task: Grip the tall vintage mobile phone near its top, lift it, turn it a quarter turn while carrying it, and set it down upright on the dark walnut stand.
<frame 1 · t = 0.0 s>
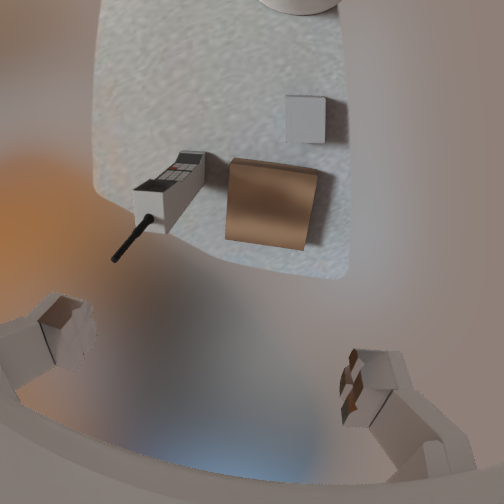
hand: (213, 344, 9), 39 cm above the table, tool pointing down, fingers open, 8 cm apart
grey plastic box: (304, 116, 41), on the table
walnut stand: (270, 200, 48), on the table
vintage mobile phone: (194, 166, 47), on the table
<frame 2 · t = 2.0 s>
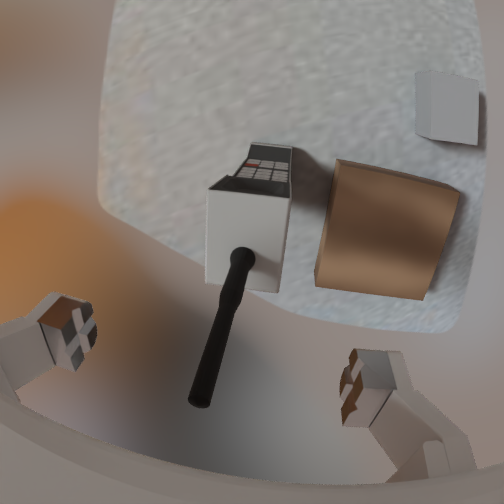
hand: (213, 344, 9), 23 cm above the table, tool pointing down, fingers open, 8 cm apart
grey plastic box: (437, 106, 24), on the table
walnut stand: (382, 228, 31), on the table
vintage mobile phone: (269, 168, 30), on the table
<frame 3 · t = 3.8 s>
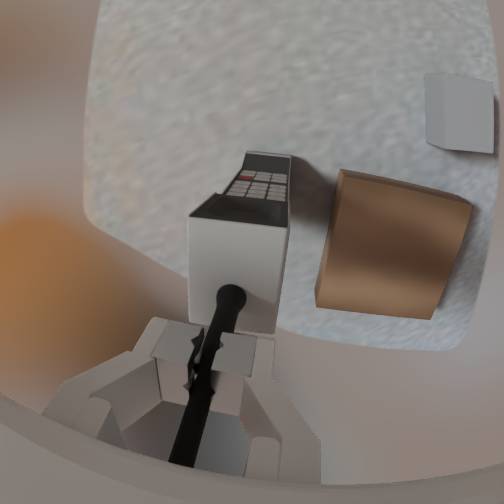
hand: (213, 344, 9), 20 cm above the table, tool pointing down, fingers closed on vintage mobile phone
grey plastic box: (448, 111, 22), on the table
walnut stand: (388, 243, 28), on the table
vintage mobile phone: (266, 179, 27), on the table, touching gripper
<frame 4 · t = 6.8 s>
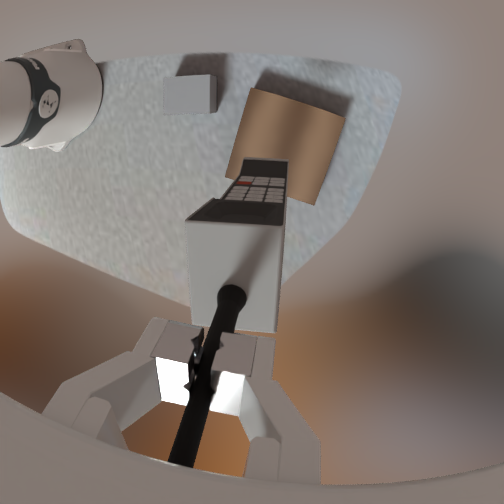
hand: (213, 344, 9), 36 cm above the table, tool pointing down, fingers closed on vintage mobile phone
grey plastic box: (195, 95, 39), on the table
walnut stand: (284, 143, 41), on the table
vintage mobile phone: (265, 184, 28), point 16 cm above the table, touching gripper
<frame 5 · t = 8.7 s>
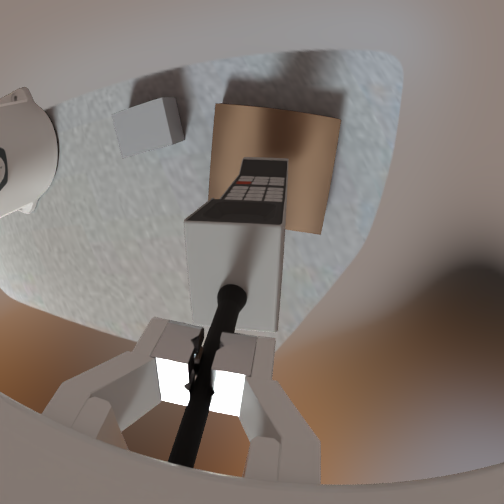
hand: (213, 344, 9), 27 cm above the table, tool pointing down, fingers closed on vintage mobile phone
grey plastic box: (156, 125, 33), on the table
walnut stand: (272, 164, 33), on the table
vintage mobile phone: (265, 184, 28), point 7 cm above the table, touching gripper
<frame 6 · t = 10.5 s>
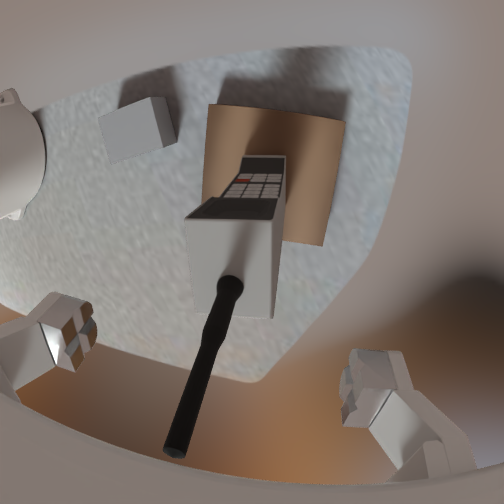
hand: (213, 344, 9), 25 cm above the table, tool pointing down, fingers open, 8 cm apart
grey plastic box: (146, 127, 31), on the table
walnut stand: (270, 169, 31), on the table
vintage mobile phone: (265, 180, 29), point 3 cm above the table, touching walnut stand
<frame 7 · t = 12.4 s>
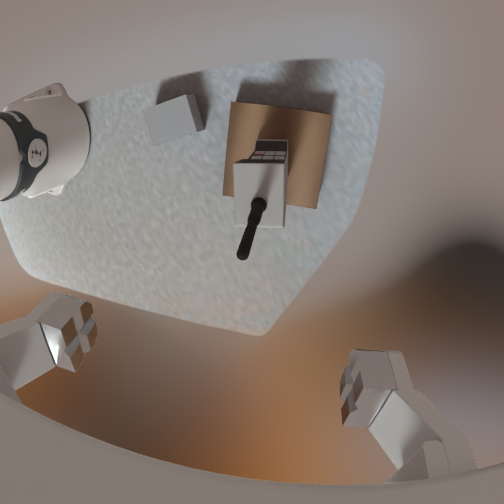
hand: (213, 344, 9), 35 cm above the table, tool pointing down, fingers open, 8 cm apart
grey plastic box: (179, 118, 40), on the table
walnut stand: (276, 151, 40), on the table
vintage mobile phone: (272, 158, 38), point 3 cm above the table, touching walnut stand
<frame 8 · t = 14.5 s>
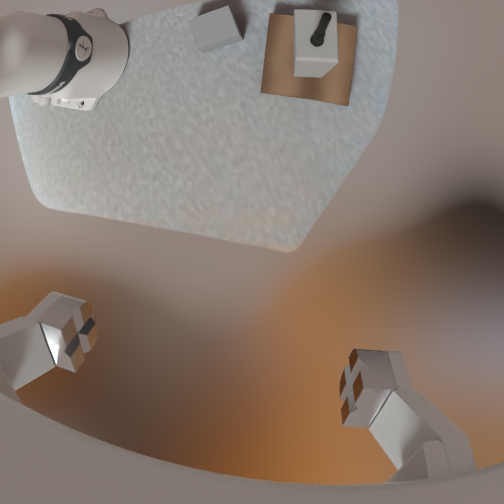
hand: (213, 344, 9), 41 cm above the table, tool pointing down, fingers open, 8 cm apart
grey plastic box: (219, 32, 39), on the table
walnut stand: (308, 60, 39), on the table
vintage mobile phone: (307, 60, 37), point 3 cm above the table, touching walnut stand
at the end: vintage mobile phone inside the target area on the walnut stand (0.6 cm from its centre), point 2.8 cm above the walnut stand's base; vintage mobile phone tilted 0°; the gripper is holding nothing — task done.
